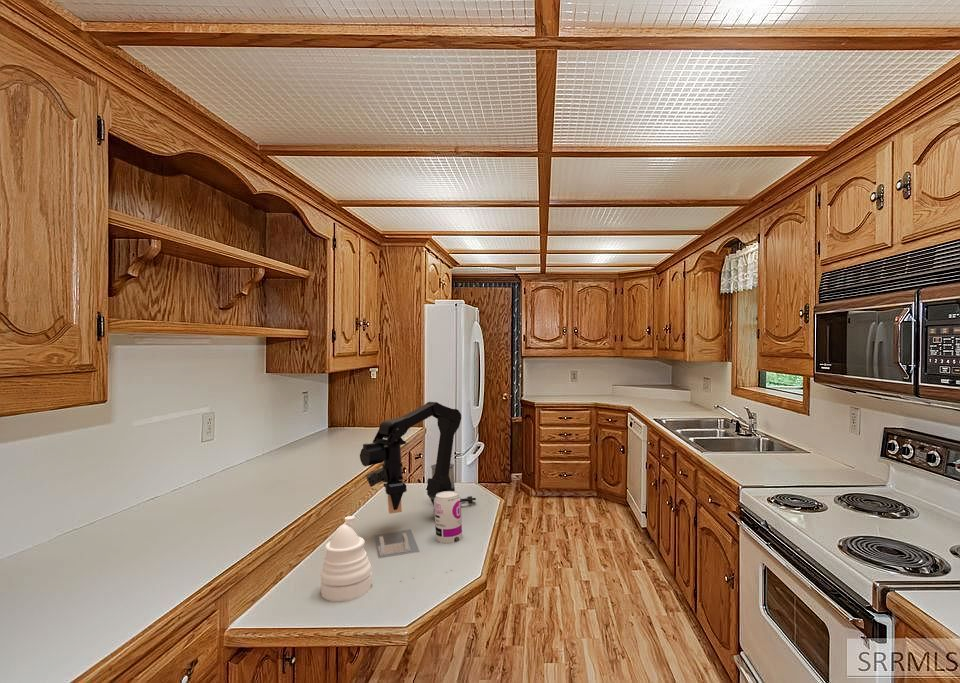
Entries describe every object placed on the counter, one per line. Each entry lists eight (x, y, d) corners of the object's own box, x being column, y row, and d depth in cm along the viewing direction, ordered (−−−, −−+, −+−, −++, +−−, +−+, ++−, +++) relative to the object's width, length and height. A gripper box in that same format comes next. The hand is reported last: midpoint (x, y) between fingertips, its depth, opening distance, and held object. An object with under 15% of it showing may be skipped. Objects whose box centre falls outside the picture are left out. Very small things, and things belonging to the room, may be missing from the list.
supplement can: (466, 538, 165) (464, 491, 165) (454, 548, 157) (452, 499, 157) (444, 535, 168) (441, 489, 168) (431, 545, 160) (428, 497, 161)
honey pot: (352, 573, 144) (348, 508, 144) (382, 585, 136) (378, 516, 136) (311, 592, 134) (307, 522, 134) (341, 606, 126) (337, 532, 126)
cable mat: (410, 532, 172) (410, 529, 172) (419, 555, 153) (419, 551, 153) (374, 538, 169) (374, 534, 169) (378, 562, 150) (378, 558, 150)
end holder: (407, 543, 160) (407, 531, 160) (410, 551, 154) (410, 539, 154) (378, 547, 158) (377, 536, 158) (380, 556, 151) (379, 544, 151)
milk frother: (430, 501, 206) (428, 464, 206) (468, 496, 211) (466, 459, 211) (438, 512, 192) (436, 472, 192) (479, 505, 197) (476, 467, 197)
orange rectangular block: (400, 509, 170) (399, 490, 170) (401, 511, 167) (400, 493, 167) (388, 510, 169) (387, 492, 169) (389, 513, 166) (388, 494, 166)
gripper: (365, 457, 175) (368, 503, 175) (368, 469, 157) (371, 520, 157) (398, 453, 178) (401, 499, 178) (405, 465, 160) (408, 515, 160)
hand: (394, 508), depth 168 cm, fingers closed on orange rectangular block, 3 cm apart
